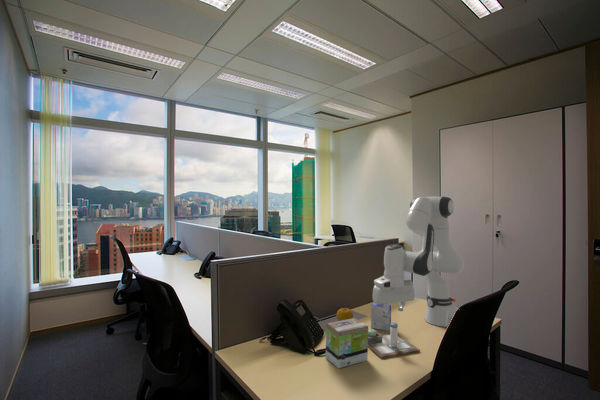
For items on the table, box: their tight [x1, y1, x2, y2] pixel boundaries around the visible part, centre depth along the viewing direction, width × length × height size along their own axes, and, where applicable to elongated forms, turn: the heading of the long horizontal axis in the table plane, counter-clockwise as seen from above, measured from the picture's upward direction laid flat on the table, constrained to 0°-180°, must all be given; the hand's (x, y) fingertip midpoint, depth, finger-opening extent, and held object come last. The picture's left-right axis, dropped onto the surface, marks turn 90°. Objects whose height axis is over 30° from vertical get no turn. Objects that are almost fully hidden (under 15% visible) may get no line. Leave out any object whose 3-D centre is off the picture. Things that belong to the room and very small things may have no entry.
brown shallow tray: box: [368, 331, 421, 360], centre depth 132 cm, size 20×18×4 cm
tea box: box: [325, 317, 369, 369], centre depth 121 cm, size 15×10×15 cm
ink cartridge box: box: [370, 302, 392, 332], centre depth 152 cm, size 10×6×14 cm, turn 66°
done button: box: [368, 328, 377, 337], centre depth 135 cm, size 4×4×3 cm
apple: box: [336, 307, 354, 321], centre depth 155 cm, size 9×9×9 cm
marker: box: [389, 321, 398, 349], centre depth 129 cm, size 3×3×10 cm
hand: (393, 311), depth 129 cm, fingers open, 6 cm apart
